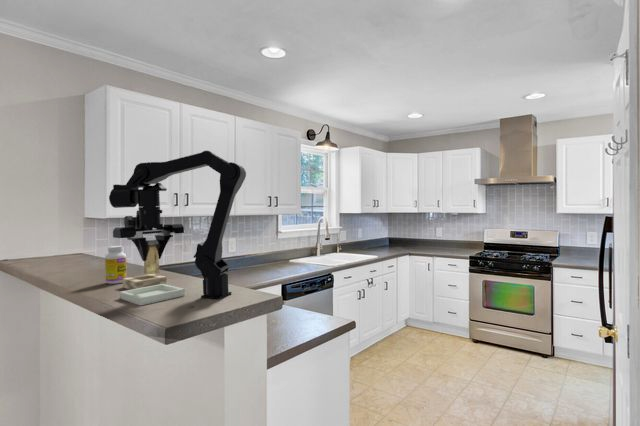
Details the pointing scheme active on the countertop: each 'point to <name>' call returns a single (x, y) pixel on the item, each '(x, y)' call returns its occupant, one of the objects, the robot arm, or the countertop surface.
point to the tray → (151, 294)
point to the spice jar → (152, 257)
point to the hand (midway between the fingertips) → (151, 260)
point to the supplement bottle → (115, 265)
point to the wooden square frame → (143, 281)
